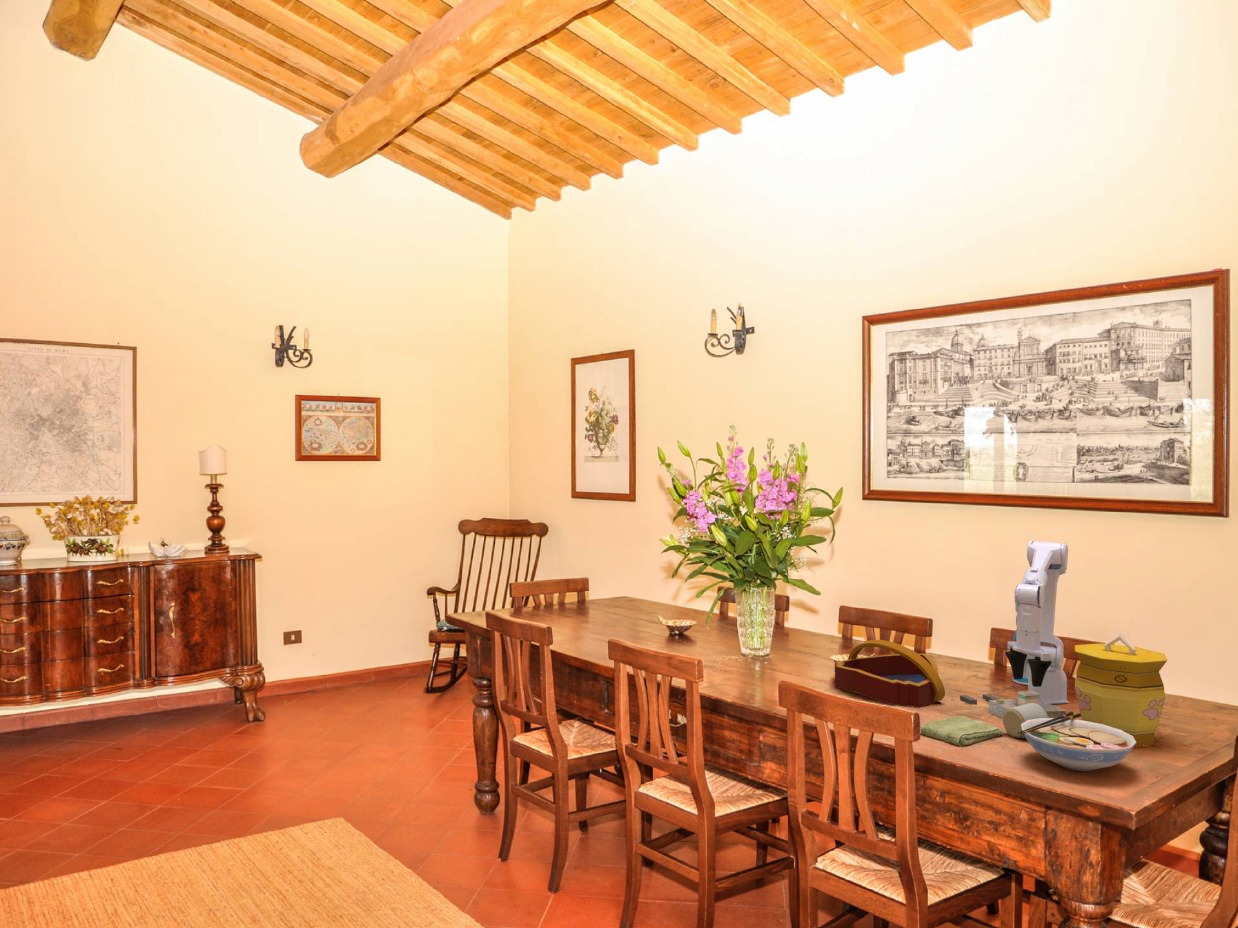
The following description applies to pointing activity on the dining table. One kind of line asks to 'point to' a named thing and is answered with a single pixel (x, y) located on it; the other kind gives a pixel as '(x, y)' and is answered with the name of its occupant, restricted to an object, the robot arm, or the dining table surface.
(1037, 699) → the small white carton
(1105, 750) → the ramen bowl
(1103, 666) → the container
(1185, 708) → the dining table surface
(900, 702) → the decorative basket
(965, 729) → the washcloth
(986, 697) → the pair of dark blocks
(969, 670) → the dining table surface
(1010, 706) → the port
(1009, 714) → the grey cylinder
